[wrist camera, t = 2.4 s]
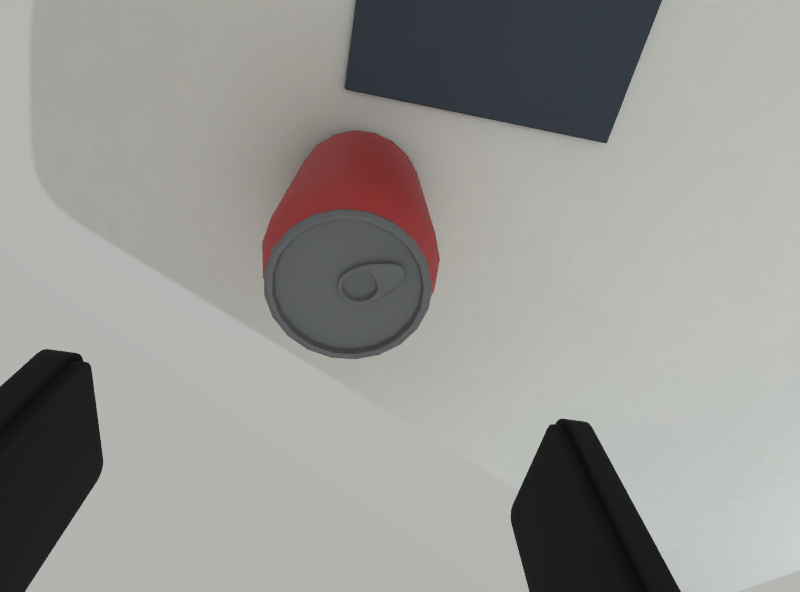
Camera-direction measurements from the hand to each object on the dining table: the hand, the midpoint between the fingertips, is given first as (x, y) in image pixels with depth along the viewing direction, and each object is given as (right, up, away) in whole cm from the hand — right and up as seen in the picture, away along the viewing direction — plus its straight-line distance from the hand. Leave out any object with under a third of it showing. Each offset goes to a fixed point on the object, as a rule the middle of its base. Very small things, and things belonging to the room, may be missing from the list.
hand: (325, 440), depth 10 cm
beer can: (-1, +9, +17) cm, 19 cm away
